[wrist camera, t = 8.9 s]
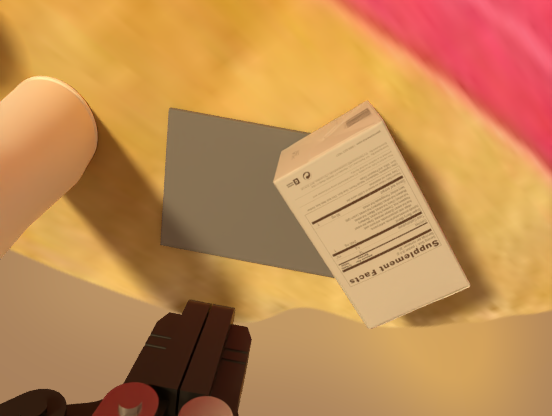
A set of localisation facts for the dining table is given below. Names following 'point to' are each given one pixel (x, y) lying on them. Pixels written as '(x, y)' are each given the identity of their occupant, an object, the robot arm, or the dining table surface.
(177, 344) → the robot arm
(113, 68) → the dining table surface
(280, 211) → the mat
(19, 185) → the white bottle
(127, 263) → the dining table surface
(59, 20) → the dining table surface
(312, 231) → the supplement box
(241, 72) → the dining table surface
